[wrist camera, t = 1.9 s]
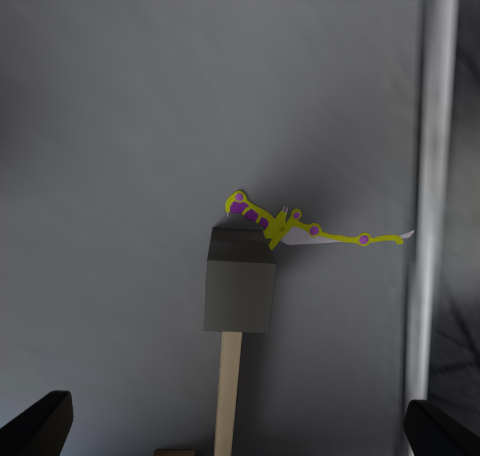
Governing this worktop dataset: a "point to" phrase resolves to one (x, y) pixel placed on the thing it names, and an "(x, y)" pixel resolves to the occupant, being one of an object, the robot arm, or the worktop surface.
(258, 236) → the wooden mallet
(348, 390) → the worktop surface
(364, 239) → the decorative knife
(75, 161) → the worktop surface
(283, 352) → the worktop surface
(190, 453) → the walnut cabinet
